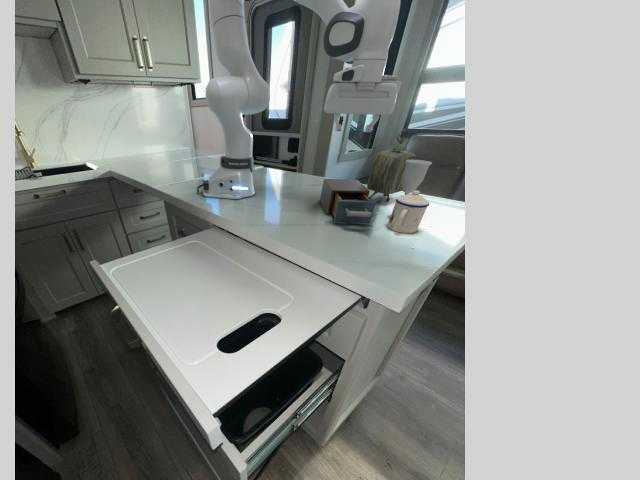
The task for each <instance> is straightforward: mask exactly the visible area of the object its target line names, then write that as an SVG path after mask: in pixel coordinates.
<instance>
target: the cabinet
mask: <svg viewBox="0 0 640 480" xmlns="http://www.w3.org/2000/svg"><path fill="white" fill-rule="evenodd" d="M321 186H322V187H321V190H320V191H321V192H320V197H319V202H320V205H321V206H322V208H323V210H324V212H325V214H326V215H327V216H334V215H333V214H332V212H331V210H330V209H331V204H332V200H333V195H334V193H364V194H365V195H366V196H367V197H369V196H370V193H371V190H369V189H367V186H366V185H364V184H362V182H360V180H358V179H351V178H350V179H349V178H348V179H347V178H323V181H322V185H321Z"/></svg>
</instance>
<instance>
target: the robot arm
mask: <svg viewBox="0 0 640 480" xmlns="http://www.w3.org/2000/svg"><path fill="white" fill-rule="evenodd" d="M244 1H245V2H251V1H252V0H209V9H210V10H209V12H210V20H211V21H210V22H211V27H212V34H213V40H214V48H215V53H216V58H217V60H218V62H219V63H220V64H221V65H222V66H223V67H224V68H225V69H226V70H227V71H228V73H229V75H220V76H216V77H213V78H211V79H210V80H209V81H208V83H207V84H206V88H205V101H206V105H207V107H208V109H209V110H210V112H211V113H213V115H214V116H215V117H216V118H217V120H218V122H219V124H220V126H221V129H222V134H223V142H224V155H221V156H220V158H219V165H220V166H219V167H218V168H217V169H216V170H215V171H214V172H213V173H212V174H210V176H209V177H208V179H205V180H202V181H203V182H202V184H199V185H198V186H197V188H196V193H197V194H199V193H200V192H199V191H200V188H202V187H203V190H202V195H203V196H204V197H207V198H218V199H231V200H240V199H241V200H242V199H243V198H247V197H252V196H253V195H255V194H256V190H255V188H254V179H253V171H254V156H253V150H254V149H253V147H254V136H253V133H252V131H251V130H250V129H249V128H247V126H245V123H244V120H243V115H244V116H245V115H246V116H247V115H256V114H258V113H261V112H264V111H265V110H266V109H267V108H268V107H269V103H270V99H271V90H270V86H269V84H268V82H267V81H266V80H265V79H264V78H263V77H262V76H261V74H260V72H259V71H258V69H257V67H256V65H255V63H254V59H253V58H252V54H251V50H250V45H249V39H248V32H247V26H246V18H245V11H244V10H245V9H244ZM292 1H293V2H295V3H298V4H299V5H302V6H304V7H306V8H308V9H309V10H311V11H313V12H314V13H315V14H316V15H318V16H319V18H320V19H321V20H322V22H323V23H324V24H325V25H326V27H325V30H324V33H323V39H322V42H323V43H322V44H323V49H324V52H325V54H326V55H327V56H328V57H329V58H331V59H333V60H337V61H340V62H344V63H345V64H348V65H351V67H346V68H344V69H342V70H340V71H337V72H335V73H334V74H333V78H332V79H333V83H332V84H331V85H330V86H329V88H328V91H327V94H326V96H325V97H326V98H325V101H324V107H323V111H324V112H325V113H326V114H334V115H333V119H334V123H335V127H334V131H335V132H341V131H342V127H343V125H342V124H340V121H339V119H340V118H341V115H343V114H344V115H372V117H371V119H372V120H371V122H370V123H369V124H366V125H365V130H364V132H365V133H371V132H372V131H373V127H374V126H375V124H376V123H377V122H378V121H379V119H380V116H390V115H391V114H392V113H393V112H394V110H395V108H396V103H397V98H398V93H399V92H400V89H401V87H402V78H401V77H399V75H398V74H394V75H391V74H384V73H385V69H386V65H387V61H388V56H389V49H390V46H391V44H392V42H393V39H394V36H395V33H396V29H397V24H398V20H399V15H400V10H401V3H402V1H401V0H360V1H359V2H357V3H356V4H354V5H353V6H351V7H349V5H348V4H347V3H346V2H345V0H292Z"/></svg>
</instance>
